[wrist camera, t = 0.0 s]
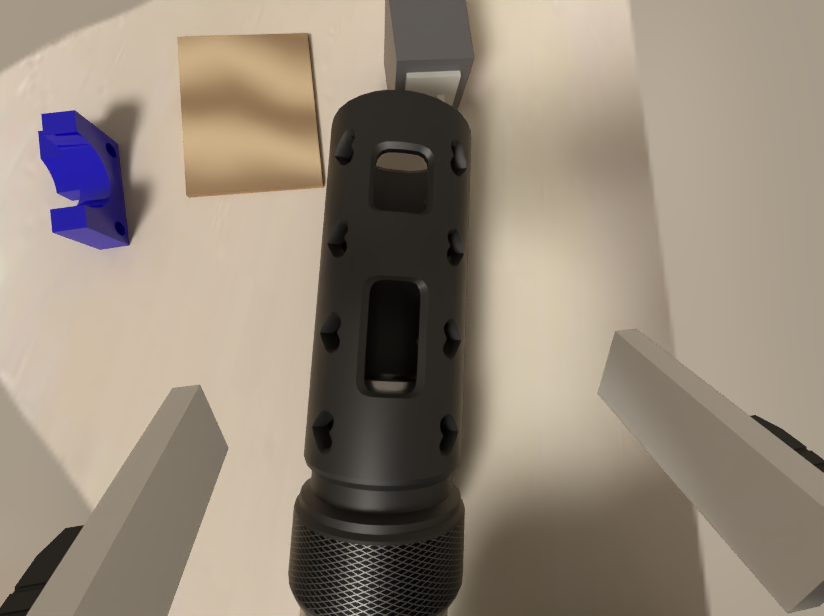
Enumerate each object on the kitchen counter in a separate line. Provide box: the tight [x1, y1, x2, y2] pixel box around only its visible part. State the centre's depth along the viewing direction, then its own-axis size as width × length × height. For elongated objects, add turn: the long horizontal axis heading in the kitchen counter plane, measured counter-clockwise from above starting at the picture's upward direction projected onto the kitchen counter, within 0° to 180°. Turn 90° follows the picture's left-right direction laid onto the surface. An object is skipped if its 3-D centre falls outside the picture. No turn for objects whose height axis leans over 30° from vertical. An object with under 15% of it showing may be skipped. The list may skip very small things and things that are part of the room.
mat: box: [177, 33, 323, 197], centre depth 28 cm, size 13×10×1 cm
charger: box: [384, 0, 474, 110], centre depth 26 cm, size 8×5×7 cm, turn 7°
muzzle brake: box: [288, 90, 471, 616], centre depth 22 cm, size 10×28×10 cm, turn 177°
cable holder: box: [38, 110, 129, 250], centre depth 24 cm, size 8×4×4 cm, turn 11°
